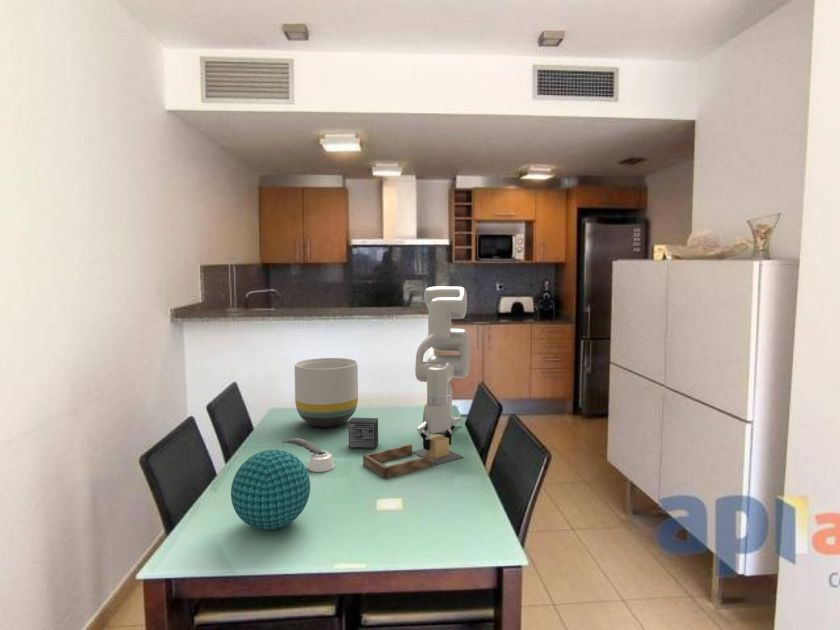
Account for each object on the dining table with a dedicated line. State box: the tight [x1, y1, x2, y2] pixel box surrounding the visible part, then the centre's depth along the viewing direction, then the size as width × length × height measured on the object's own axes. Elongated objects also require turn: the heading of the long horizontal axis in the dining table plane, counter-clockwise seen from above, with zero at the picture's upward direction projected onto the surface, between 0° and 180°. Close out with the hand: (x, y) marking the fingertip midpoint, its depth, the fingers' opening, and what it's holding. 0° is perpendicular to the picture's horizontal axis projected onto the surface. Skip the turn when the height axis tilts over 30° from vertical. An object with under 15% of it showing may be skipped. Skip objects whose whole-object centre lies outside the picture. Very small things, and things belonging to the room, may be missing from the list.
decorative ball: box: [230, 449, 311, 531], centre depth 137 cm, size 20×20×20 cm
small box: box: [348, 417, 379, 450], centre depth 199 cm, size 11×6×10 cm, turn 84°
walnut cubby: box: [362, 443, 435, 480], centre depth 180 cm, size 20×14×4 cm
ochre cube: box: [426, 433, 450, 458], centre depth 190 cm, size 6×6×6 cm
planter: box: [294, 357, 359, 428], centre depth 227 cm, size 27×27×27 cm
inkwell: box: [282, 437, 335, 473], centre depth 178 cm, size 9×18×10 cm, turn 90°
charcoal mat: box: [412, 448, 464, 466], centre depth 190 cm, size 12×15×1 cm
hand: (437, 446), depth 190 cm, fingers open, 9 cm apart
